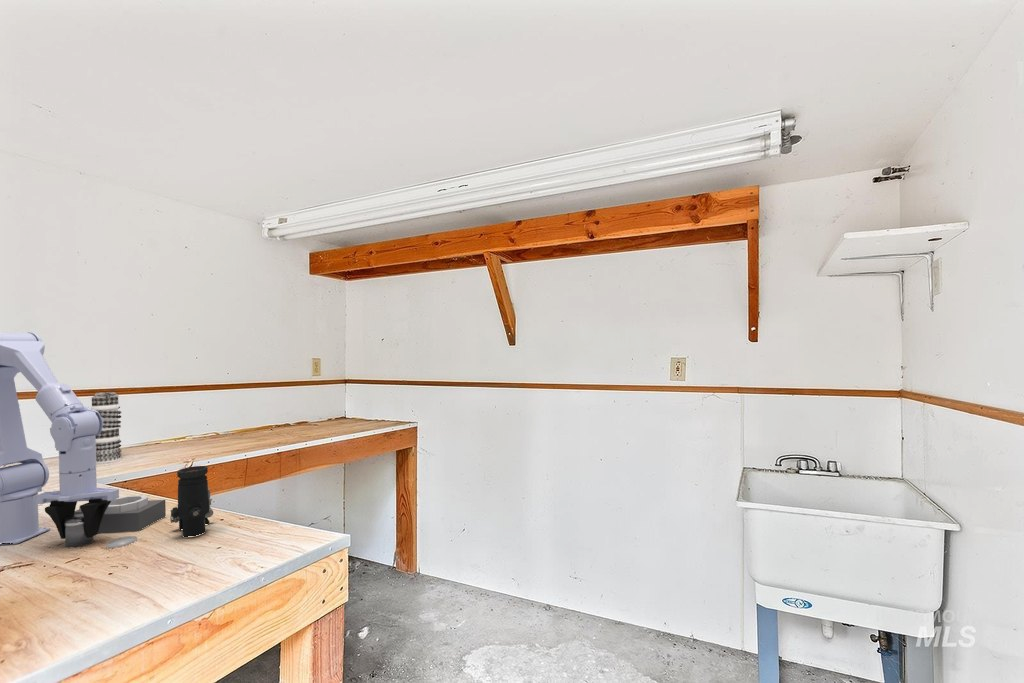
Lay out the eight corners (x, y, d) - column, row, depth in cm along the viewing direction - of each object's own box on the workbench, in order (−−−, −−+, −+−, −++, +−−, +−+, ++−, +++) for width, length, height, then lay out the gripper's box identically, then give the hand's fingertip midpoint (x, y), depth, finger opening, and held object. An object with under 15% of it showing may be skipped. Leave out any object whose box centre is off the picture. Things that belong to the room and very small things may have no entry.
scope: (211, 460, 111) (218, 468, 104) (212, 521, 111) (219, 534, 103) (167, 467, 106) (171, 476, 98) (169, 531, 106) (173, 544, 98)
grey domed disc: (99, 550, 97) (99, 546, 97) (118, 540, 102) (118, 536, 102) (125, 549, 98) (125, 545, 98) (143, 539, 103) (143, 535, 103)
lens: (58, 548, 98) (58, 521, 98) (77, 539, 103) (76, 513, 103) (82, 547, 98) (81, 519, 98) (99, 538, 103) (99, 512, 103)
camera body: (71, 534, 106) (70, 508, 106) (103, 519, 115) (103, 495, 115) (139, 531, 106) (138, 505, 107) (165, 516, 115) (165, 492, 116)
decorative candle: (87, 462, 177) (85, 393, 178) (119, 457, 184) (117, 390, 185) (92, 465, 172) (90, 394, 172) (125, 460, 179) (123, 391, 179)
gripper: (22, 477, 96) (24, 546, 96) (99, 473, 97) (101, 542, 97) (53, 468, 103) (55, 532, 103) (125, 465, 104) (127, 528, 104)
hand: (79, 536), depth 101 cm, fingers closed on lens, 4 cm apart
